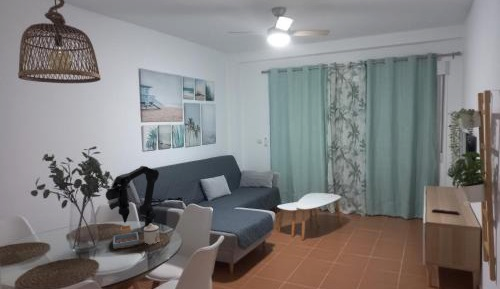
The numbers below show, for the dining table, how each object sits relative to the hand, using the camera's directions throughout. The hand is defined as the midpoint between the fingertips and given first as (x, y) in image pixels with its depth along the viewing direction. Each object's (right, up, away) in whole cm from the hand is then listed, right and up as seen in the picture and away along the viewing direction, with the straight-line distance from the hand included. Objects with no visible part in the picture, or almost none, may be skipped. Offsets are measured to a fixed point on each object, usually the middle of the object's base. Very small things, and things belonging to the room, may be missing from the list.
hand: (125, 220), depth 212 cm
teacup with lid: (+20, -11, -9) cm, 24 cm away
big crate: (+5, -12, -10) cm, 16 cm away
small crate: (0, -11, +1) cm, 11 cm away
